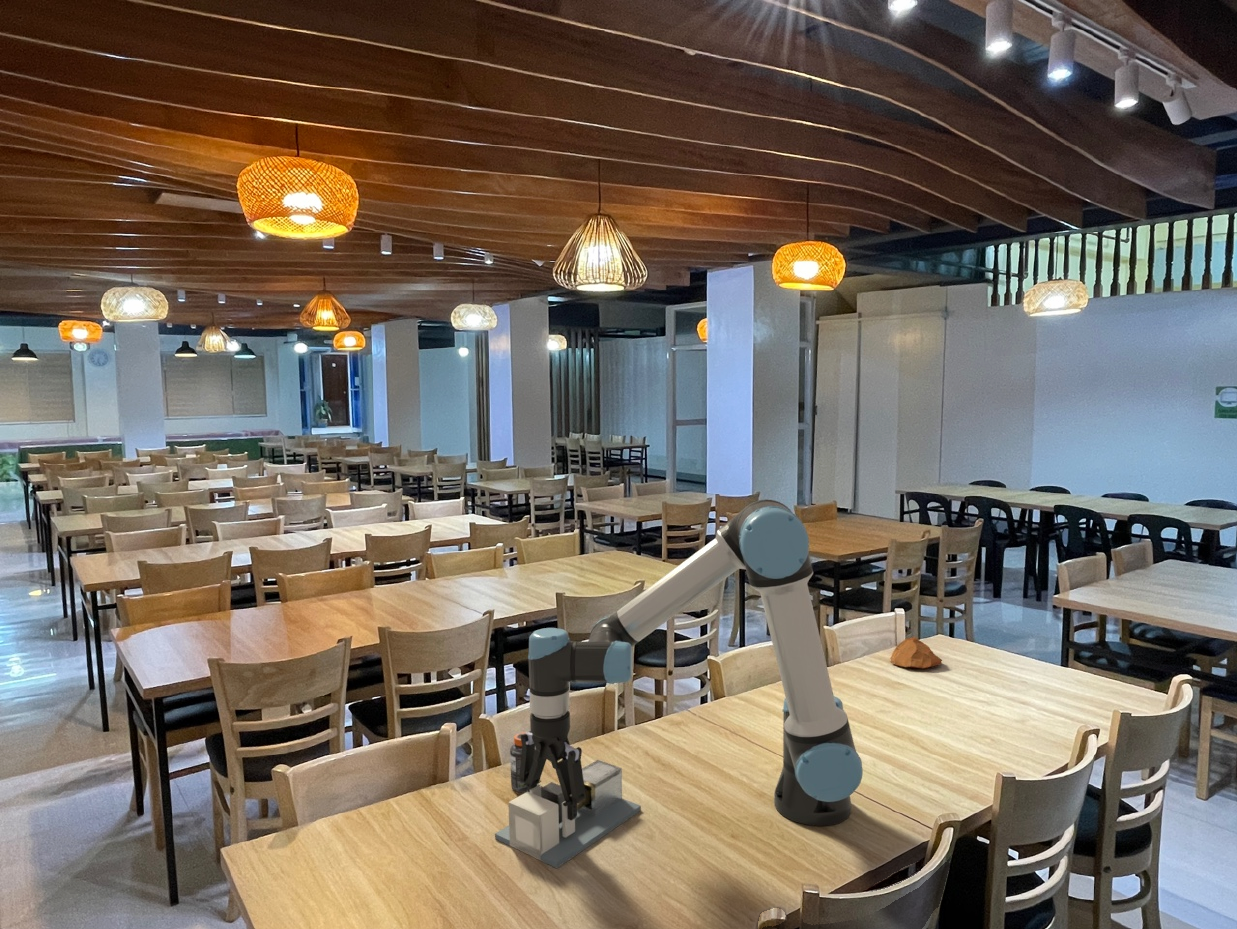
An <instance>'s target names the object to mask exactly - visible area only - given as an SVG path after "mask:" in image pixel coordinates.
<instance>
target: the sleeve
mask: <svg viewBox="0 0 1237 929" xmlns="http://www.w3.org/2000/svg"><path fill="white" fill-rule="evenodd" d="M622 770H623V769H622V767H619V766H616V765H615V764H611V763H608V762H606V761H603V760H599V759H596V760H595V761H593V762H591V763H589V764H587V765H586V766H584V767H582V773H583V780H584V785H587V786H590V787H591V799H592V801H591V802H590V803H588V804H587V805H585V806H583V807H582V808H580V810H583V811H585V812H588V813H590V814H593V815H595V816H596V815H598V814H599V813H601V812H602V811H604V810H605V809H607V808H608V807H610V806H611V805H613V804H614V803H616V802H618V801H619V800H621V799H623V771H622Z"/></svg>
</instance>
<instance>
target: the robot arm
mask: <svg viewBox="0 0 1237 929" xmlns="http://www.w3.org/2000/svg"><path fill="white" fill-rule="evenodd" d="M809 543H810V538H809V534H808V531H807V528H806V527H805V524H804V523H803V522H802V520H801V519H800V518H799V517H798V516H797V515H796V514H795V513H793V512H792V510H791V509H790V508H789V507H788V506H787V505H785V504H784V503H782V502H780V501H777V500H774V499H760V500H757V501H754V502H751V503H750V504H748V505H746V506H745V507H744V508H742V510H741V511H739V512H738V513H737V514H735V515H734V517H732V518H731V519H729V521H728V522H726V523H725V524H724V525H723V526H721V527H719V529H717V530H716V535H715V538H714V539H712V540H711V541H709V542H708V543H707V544H706V545H704V546H702V547H701V548H700V549H699V550H697V551H696V552H695V553H693V554H692V555H691V556H689V557H687V559H685V560H684V561H683V562H682V563H680V564H678V565H677V566H676V567H675V568H673V569H671V570H670V571H669V572H668V573H667V574H665V575H664V576H662V577H661V578H659V579H658V580H657V581H656V582H655V583H653V584H652V585H650V586H648V587H647V589H645V590H643V591H642V592H641V593H640V594H637V596H635V597H634V598H632V600H630V601H629V602H627V603H626V604H625V605H623V606H622V607H621V608H619V609H618V610H617V611H616V612H614V613H613V614H612V615H610V616H606V617H604V618H601V619H600V620H598V621H597V622H596V623H595V625H593V627H592V629H591V630H590V634H589V638H588V641H579V640H578V641H574V640H570V637H569V633H568V631H567V630H565V629H562V628H556V627H546V628H545V627H544V628H540V629H537V630H534V631H533V632H532V633H531V634H530V635H529V637H528V638H529V639H528V655H527V660H528V676H529V677H528V678H529V711H530V714H529V722H530V726H529V727H530V728H529V729H530V730H529V731H526V732H524V733H525V734H523V735H521V742H522V754H521V765H520V775H519V780H520V782H522V783H523V782H524V783H525V784H526V787H527V788H528V792H530V793H532V794H534V795H537V796H539V797H541V788H542V787H543V785H542V784H541V782H542V780H541V777H542V775H543V771H544V768H545V766H546V762H547V760H548V761H549V762H550V764H551V768H552V769H554V770H555V773H556V776H557V779H558V782H559V785H560V786H561V789H562V792H563V796H564V799H565V802H563V803H562V835H563V837H565V838H566V837H567V836H569V835H570V834H572V833H574V832H575V818H576V817H577V803H579V802H581V801H582V800H584V799H585V798H586V795H585V788H584V780H583V773H582V768H583V767H582V752H583V751H582V748H581V747H580V746H577V747H576V748H575V747H574V746H572V745H571V743H570V741H569V732H570V730H571V713H570V683H590V684H591V683H593V684H610V685H614V684H623V683H626V684H627V683H628V682H630V681H631V679H632V678H633V665H634V664H633V663H634V661H633V658H634V657H633V647H634V646H635V645H637V644H638V643H639V642H640V641H642V640H643V639H645V638H647V636H649V635H650V634H652V633H653V632H654V631H655V630H657V629H659V628H660V627H661V626H662V625H664V624H665V623H666V622H668V621H669V620H670V619H672V618H673V617H675V616H676V615H677V614H679V613H680V612H681V611H683V610H684V609H685V608H687V607H688V606H690V605H692V604H693V602H695V601H697V600H698V599H699V598H700V597H702V596H703V595H705V594H706V593H708V591H710V590H711V589H713V588H714V587H716V586H718V584H720V583H721V582H723V581H724V580H725V579H727V578H728V577H729V576H731V575H733V574H734V573H735V572H737V571H738V570H740V569H741V570H746V575H747V579H748V583H749V587H751V588H752V589H754V590H755V591H756V592H758V593H759V594H760V597H761V602H762V606H763V610H764V613H765V617H766V618H765V619H766V622H767V627H768V630H769V634H770V635H769V636H770V638H771V643H772V646H773V651H774V656H775V660H776V664H777V667H778V672H779V675H780V680H781V684H782V689H783V693H784V697H785V698H784V700H783V709H782V712H783V717H782V718H783V719H782V720H783V721H782V722H783V728H782V729H783V732H782V734H783V736H782V740H783V741H782V742H783V746H782V747H783V748H782V749H783V750H782V755H783V757H782V759H783V760H782V763H783V764H782V770H781V772H780V775H779V778H778V781H777V784H776V786H775V790H774V793H773V794H774V798H773V800H774V807H775V810H777V812H778V813H779V815H782V816H783V817H785V818H786V819H789V820H790V821H793V822H795V823H798V824H803V825H807V826H817V827H818V826H819V827H823V826H824V827H825V826H832V825H837V824H839V823H842V822H844V821H846V820H847V819H848V818H849V817H850V816H851V812H852V800H851V795H852V794H854V793H855V791H856V790H857V789H858V787H859V786H860V784H861V781H862V779H863V773H864V772H863V762H862V759H861V757H860V756H859V753H858V752H857V750H856V747H855V746H856V745H855V743H854V738H853V733H852V730H851V725H850V721H849V717H848V714H847V713H846V711H845V710H844V705H843V700H841V699H840V698H839V697H837V696H835V695H834V692H833V687H832V682H831V678H830V673H829V670H828V666H827V661H826V658H825V653H824V649H823V645H822V640H821V636H820V631H819V628H818V624H817V619H816V615H815V611H814V608H813V603H812V598H811V594H810V590H809V585H808V583H809V580H810V579H811V578H812V576H813V575H814V571H813V566H812V562H811V558H810V557H811V556H810V553H809V552H810V551H809V550H810V544H809ZM782 712H781V713H782ZM535 746H536V747H535ZM535 748H536V750H535ZM538 783H539V785H538V786H537V784H538ZM570 795H571V796H570Z"/></svg>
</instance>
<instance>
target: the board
mask: <svg viewBox="0 0 1237 929" xmlns="http://www.w3.org/2000/svg"><path fill="white" fill-rule="evenodd" d="M641 807H642V805H640V804H638V803H635V802H633V801H629V800H627V799H625V798H622V799H621V800H619V801H618V802H616V803H614V804H613V805H611V806H610V807H608V808H607V809H605V810H604V811H602V812H601V813H599V814H598V815H596V816H595V815H593V814H590V813H588V812H585V811H583V810H580V809H579V810H577V817H576V818H575V832H574V833H572V834H570V835H569V836H567V837H566V838H565V837H563V835H562V823H560V824H559V843H558V844H557V845H555V846H554V847H552V848H551V849H549V850H548V851H546V852H545V853H543V854H542V855H540V857H541V861H540V862H542V863H545V864H547V865H549V866H551V867H553V868H556V869H559V867H561V866H563V865H564V864H566V862H568V861H570V860H571V859H572V858H574V857H575V856H577V855H578V854H580V853H582V851H584V850H586V849H587V848H588V847H590V846H591V845H593V844H594V843H596V842H598V841H599V840H601V838H603V837H604V836H606V835H607V834H608V833H610V832H612V831H613V830H615V829H616V828H617V827H619V826H620V825H622V824H623V823H625V822H626V821H628V820H629V819H631V818H632V817H634V816H635V815H636V814H638V813H639V812H641V811H642V808H641ZM494 839H495V840H497V841H500V842H501V843H503V844H505V845H507V846H509V847H511V846H510V842H511V841H510V837H509V825H507V826H506V827H504V828H502V829H501V830H499V831H496V832H495V833H494ZM513 843H514V842H513ZM512 845H514V844H512ZM516 845H518V844H516ZM514 847H515V846H514ZM514 847H513V846H512V847H511V848H514ZM518 849H519V848H518ZM518 849H517V850H518ZM522 853H524V851H523V852H522ZM527 853H528V852H527ZM532 853H533V852H532ZM537 856H538V855H536V857H537Z"/></svg>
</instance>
